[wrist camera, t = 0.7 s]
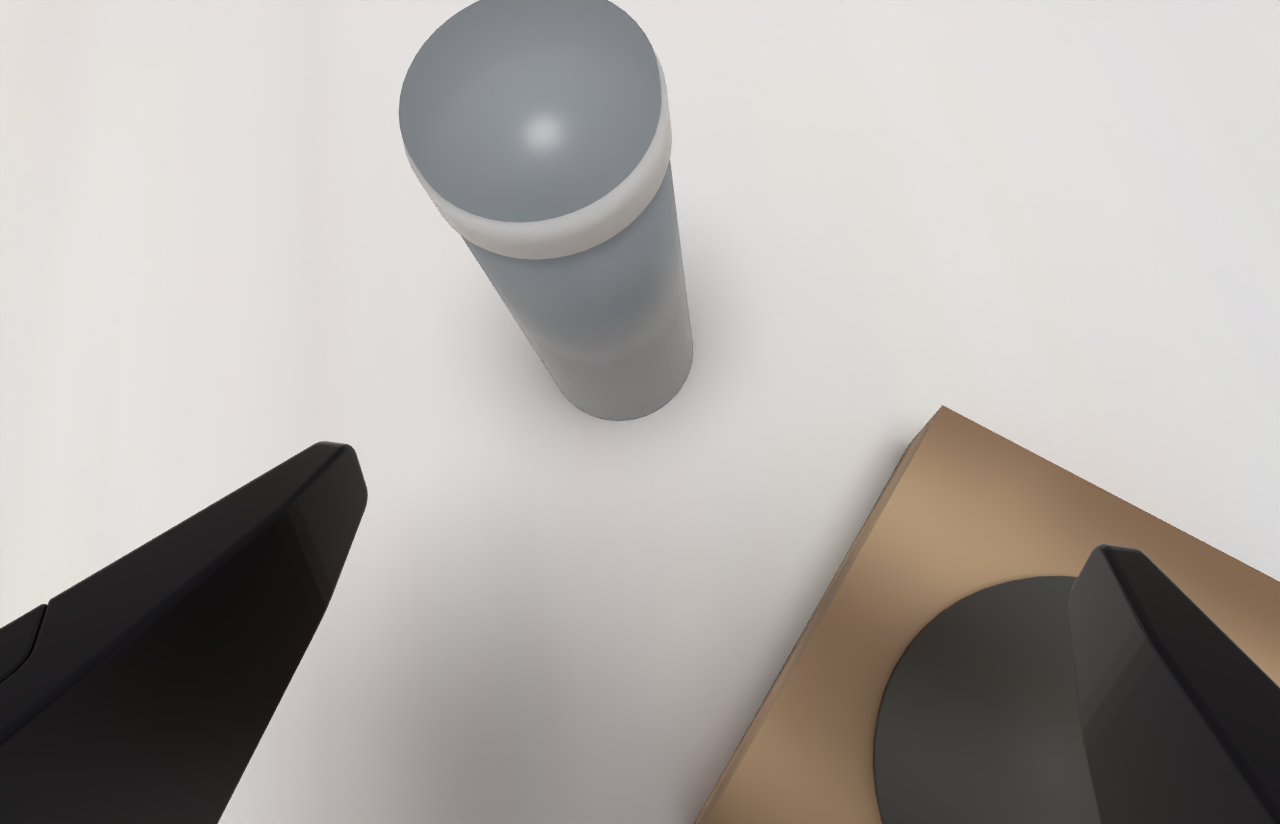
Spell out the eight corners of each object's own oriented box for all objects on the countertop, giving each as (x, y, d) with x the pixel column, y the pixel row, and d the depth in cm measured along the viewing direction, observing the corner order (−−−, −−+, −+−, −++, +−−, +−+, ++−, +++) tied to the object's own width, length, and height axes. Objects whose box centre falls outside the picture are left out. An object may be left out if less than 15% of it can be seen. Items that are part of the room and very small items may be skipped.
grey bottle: (644, 451, 26) (563, 263, 13) (519, 377, 27) (340, 141, 15) (724, 326, 27) (717, 42, 14) (600, 260, 28) (496, -54, 15)
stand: (1152, 1161, 19) (1273, 1306, 15) (691, 828, 22) (682, 870, 18) (1350, 682, 22) (1503, 689, 17) (909, 443, 25) (947, 399, 21)
